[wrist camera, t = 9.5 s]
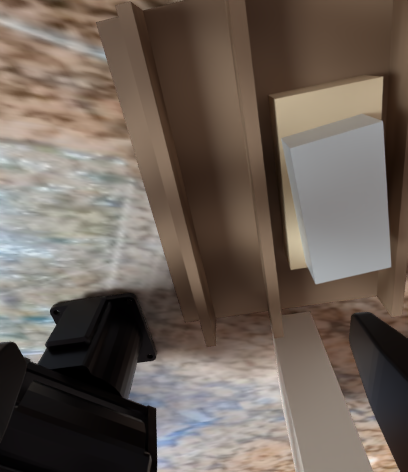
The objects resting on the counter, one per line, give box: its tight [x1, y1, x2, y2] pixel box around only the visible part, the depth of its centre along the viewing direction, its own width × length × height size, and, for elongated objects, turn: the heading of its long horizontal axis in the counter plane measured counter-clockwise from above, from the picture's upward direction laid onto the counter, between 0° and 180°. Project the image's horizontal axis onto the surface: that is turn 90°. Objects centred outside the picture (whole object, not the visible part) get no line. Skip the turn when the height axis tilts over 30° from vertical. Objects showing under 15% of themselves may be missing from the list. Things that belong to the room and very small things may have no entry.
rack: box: [96, 0, 408, 347], centre depth 18 cm, size 18×14×4 cm
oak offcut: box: [268, 75, 383, 270], centre depth 17 cm, size 9×4×2 cm, turn 11°
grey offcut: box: [281, 114, 391, 284], centre depth 15 cm, size 7×4×2 cm, turn 17°
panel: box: [270, 311, 373, 472], centre depth 22 cm, size 10×3×11 cm, turn 11°
